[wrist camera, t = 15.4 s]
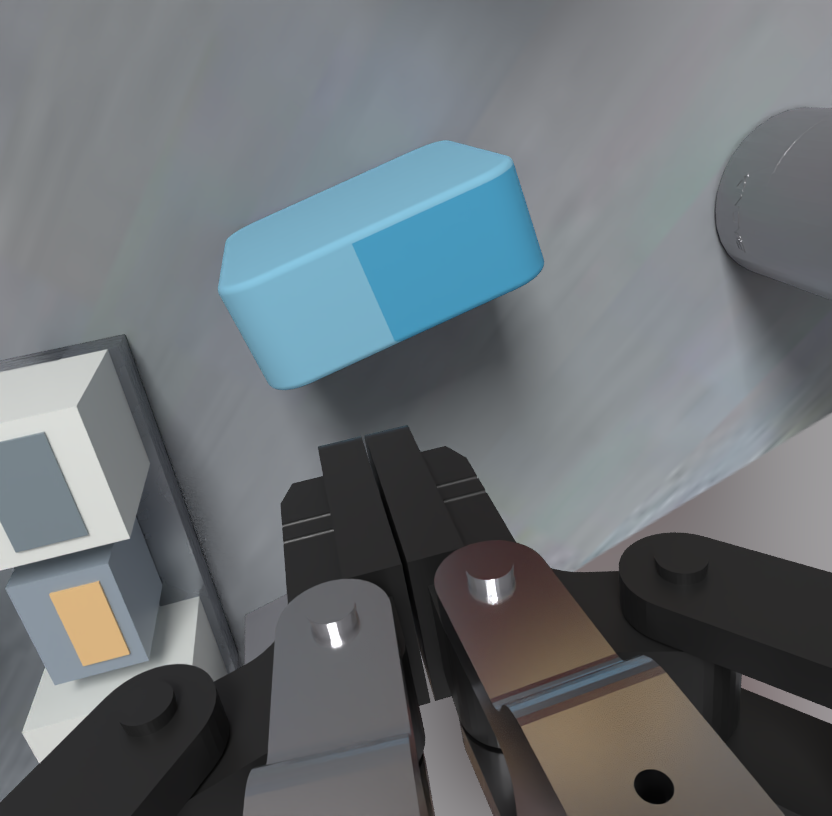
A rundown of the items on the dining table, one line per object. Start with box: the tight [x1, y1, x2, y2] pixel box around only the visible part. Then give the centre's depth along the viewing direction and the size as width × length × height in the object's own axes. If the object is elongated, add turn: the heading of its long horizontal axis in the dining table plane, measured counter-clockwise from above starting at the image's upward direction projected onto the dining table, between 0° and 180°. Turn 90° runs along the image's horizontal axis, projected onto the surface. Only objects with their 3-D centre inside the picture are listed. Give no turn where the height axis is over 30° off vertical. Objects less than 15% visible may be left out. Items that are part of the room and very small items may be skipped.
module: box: [5, 518, 162, 685], centre depth 36 cm, size 5×6×6 cm
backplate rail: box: [0, 334, 238, 674], centre depth 40 cm, size 9×22×2 cm, turn 9°
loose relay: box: [245, 594, 288, 664], centre depth 44 cm, size 5×7×6 cm
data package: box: [218, 140, 544, 390], centre depth 31 cm, size 12×4×12 cm, turn 112°
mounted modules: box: [0, 349, 228, 763], centre depth 36 cm, size 8×22×7 cm, turn 9°
